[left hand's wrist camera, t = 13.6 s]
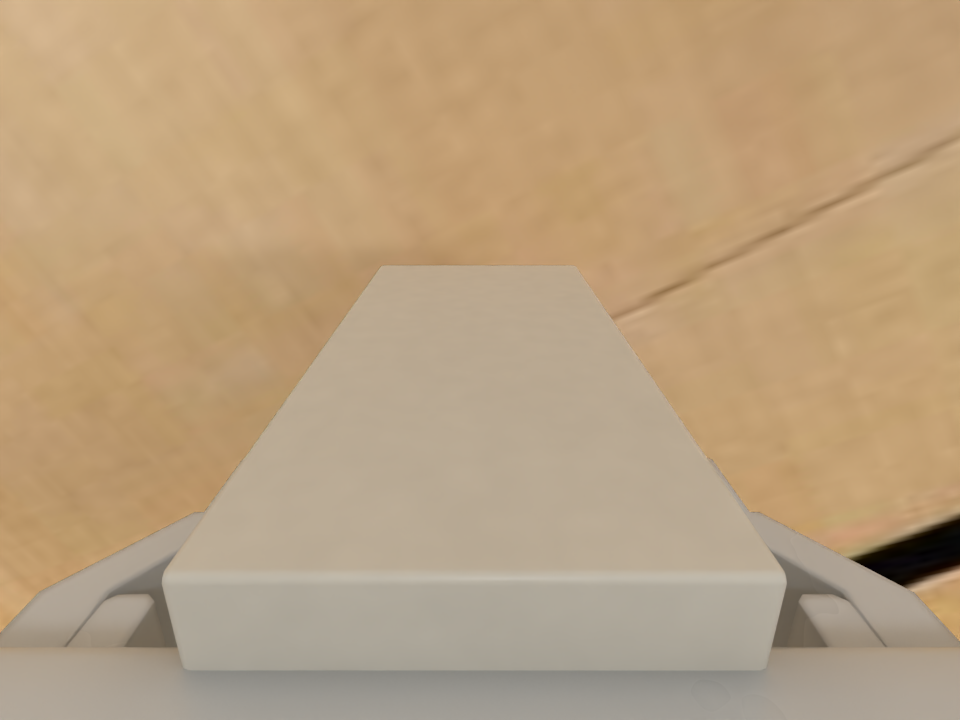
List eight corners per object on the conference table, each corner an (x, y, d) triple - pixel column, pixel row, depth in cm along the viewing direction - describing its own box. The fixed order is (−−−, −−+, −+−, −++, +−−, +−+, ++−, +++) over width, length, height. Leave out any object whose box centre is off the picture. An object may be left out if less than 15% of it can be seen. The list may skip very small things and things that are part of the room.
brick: (380, 264, 15) (154, 575, 4) (576, 264, 15) (795, 577, 4) (392, 454, 17) (253, 967, 6) (564, 454, 17) (698, 968, 6)
